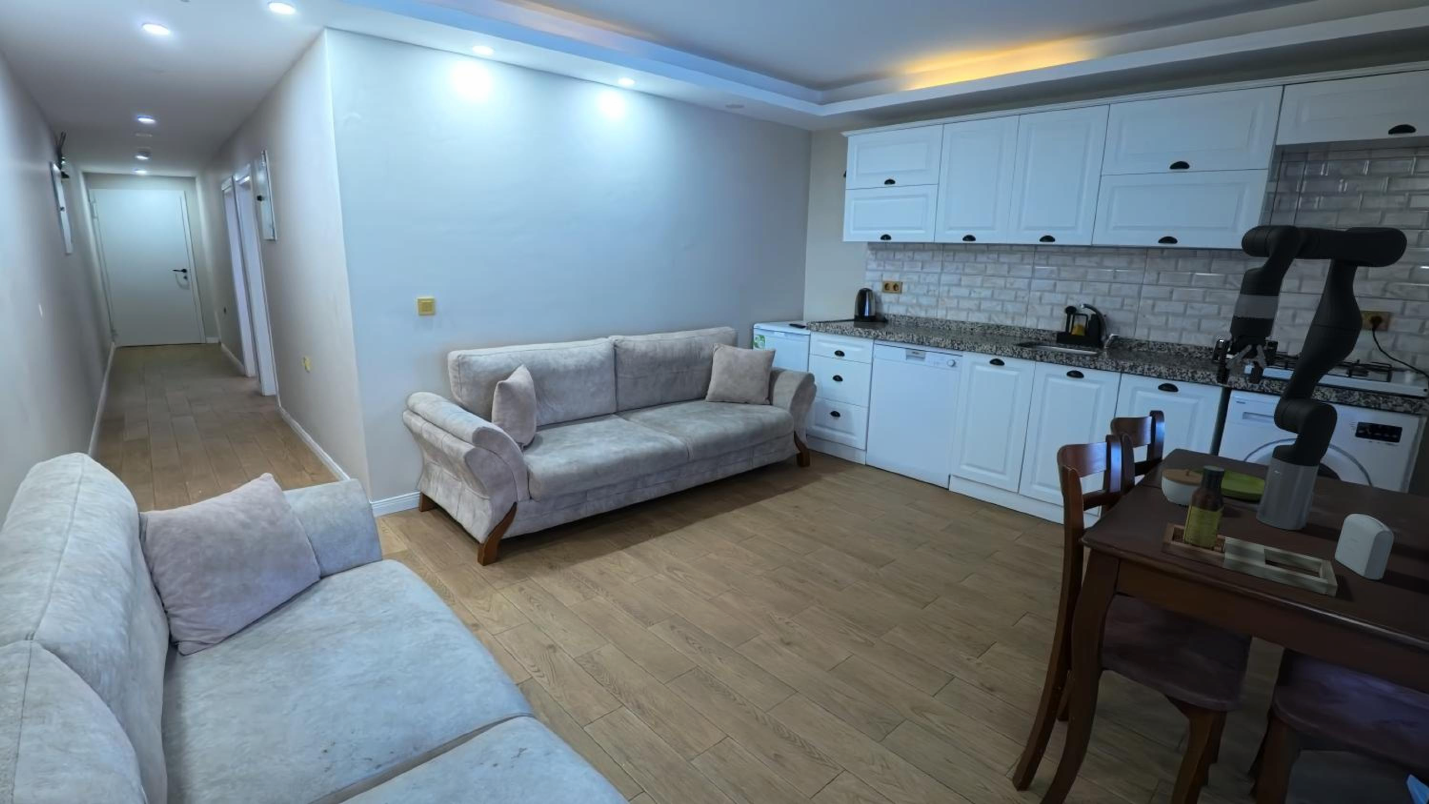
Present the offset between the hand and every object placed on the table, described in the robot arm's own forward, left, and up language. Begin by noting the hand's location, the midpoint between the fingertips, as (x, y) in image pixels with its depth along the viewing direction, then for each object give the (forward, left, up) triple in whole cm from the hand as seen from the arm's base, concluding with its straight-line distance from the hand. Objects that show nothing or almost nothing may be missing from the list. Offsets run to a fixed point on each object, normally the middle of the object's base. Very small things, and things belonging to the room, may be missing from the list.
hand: (1237, 383), depth 154 cm
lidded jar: (-11, -19, -38) cm, 44 cm away
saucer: (-35, -27, -39) cm, 59 cm away
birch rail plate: (+4, +15, -38) cm, 41 cm away
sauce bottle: (+10, +9, -38) cm, 40 cm away
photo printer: (-20, +20, -38) cm, 48 cm away
